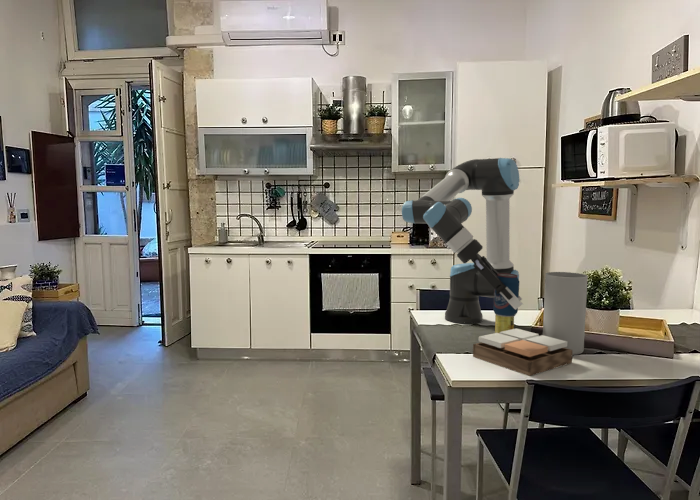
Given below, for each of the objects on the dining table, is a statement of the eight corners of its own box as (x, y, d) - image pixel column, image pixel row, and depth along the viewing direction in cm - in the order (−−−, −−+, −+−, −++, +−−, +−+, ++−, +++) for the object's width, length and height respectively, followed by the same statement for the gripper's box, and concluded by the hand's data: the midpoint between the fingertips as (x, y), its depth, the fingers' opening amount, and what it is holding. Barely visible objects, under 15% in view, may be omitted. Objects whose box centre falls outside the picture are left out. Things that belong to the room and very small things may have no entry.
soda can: (489, 314, 146) (491, 274, 145) (497, 311, 152) (499, 272, 151) (513, 318, 142) (515, 277, 141) (520, 314, 148) (523, 274, 147)
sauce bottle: (514, 343, 170) (516, 286, 168) (495, 342, 172) (497, 285, 170) (512, 338, 177) (514, 283, 175) (493, 337, 178) (495, 282, 176)
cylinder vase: (586, 348, 165) (590, 274, 162) (579, 358, 155) (583, 279, 152) (547, 342, 172) (550, 270, 169) (537, 351, 162) (541, 275, 159)
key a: (516, 332, 165) (516, 328, 165) (538, 338, 158) (538, 334, 158) (499, 336, 160) (499, 332, 160) (521, 342, 153) (521, 338, 153)
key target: (522, 344, 151) (522, 340, 151) (547, 351, 144) (547, 346, 144) (504, 349, 147) (504, 344, 146) (529, 356, 140) (529, 351, 139)
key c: (542, 339, 157) (542, 335, 157) (567, 346, 150) (567, 341, 150) (525, 344, 152) (525, 339, 152) (550, 351, 145) (550, 346, 145)
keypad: (514, 346, 167) (515, 334, 167) (571, 362, 150) (572, 350, 150) (472, 356, 156) (473, 344, 155) (529, 376, 139) (530, 362, 138)
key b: (496, 337, 159) (496, 332, 159) (518, 343, 153) (519, 338, 152) (478, 341, 155) (478, 336, 155) (500, 348, 148) (500, 343, 148)
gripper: (458, 251, 159) (508, 305, 156) (452, 257, 141) (508, 319, 137) (476, 235, 157) (527, 290, 154) (472, 240, 139) (530, 302, 135)
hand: (518, 304), depth 146 cm, fingers closed on soda can, 7 cm apart
